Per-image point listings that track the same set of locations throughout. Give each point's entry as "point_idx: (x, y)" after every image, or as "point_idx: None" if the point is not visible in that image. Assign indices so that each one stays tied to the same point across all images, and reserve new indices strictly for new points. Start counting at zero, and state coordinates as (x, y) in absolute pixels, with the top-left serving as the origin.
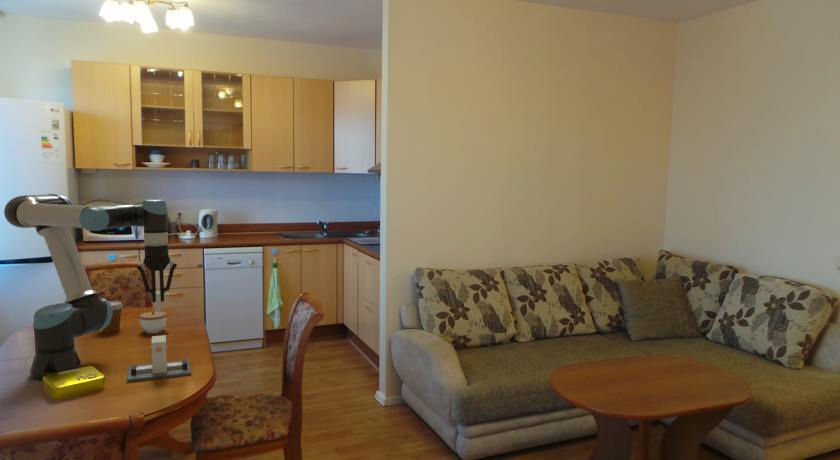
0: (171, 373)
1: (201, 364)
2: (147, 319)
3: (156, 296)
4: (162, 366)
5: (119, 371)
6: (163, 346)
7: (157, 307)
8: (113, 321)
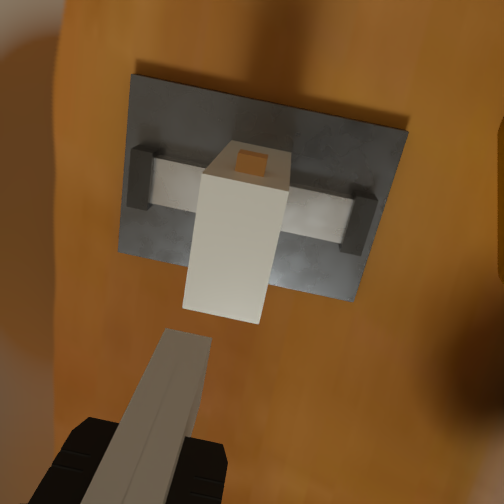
0: (214, 107)
1: (78, 192)
2: None
3: (153, 493)
4: (244, 149)
5: (393, 286)
6: (221, 169)
7: (187, 366)
8: None
